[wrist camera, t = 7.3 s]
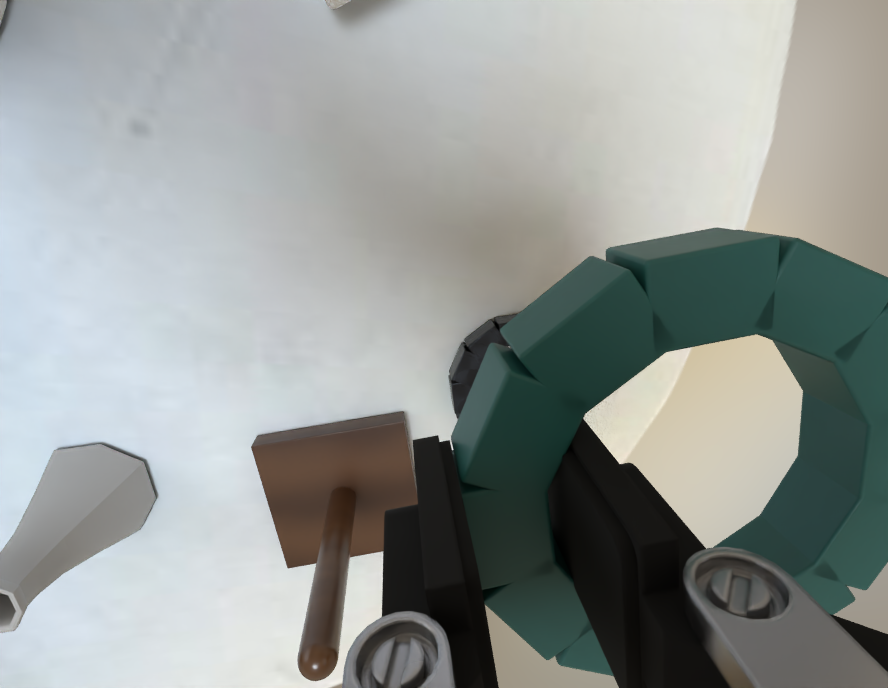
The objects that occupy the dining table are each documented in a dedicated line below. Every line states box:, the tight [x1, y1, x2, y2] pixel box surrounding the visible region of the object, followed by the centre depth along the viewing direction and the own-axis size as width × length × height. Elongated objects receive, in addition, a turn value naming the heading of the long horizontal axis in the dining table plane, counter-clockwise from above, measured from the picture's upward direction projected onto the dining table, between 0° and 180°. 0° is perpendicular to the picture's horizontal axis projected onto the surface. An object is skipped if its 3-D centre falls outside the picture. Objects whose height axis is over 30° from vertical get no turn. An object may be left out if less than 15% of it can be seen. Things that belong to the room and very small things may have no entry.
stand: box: [251, 412, 418, 681], centre depth 28 cm, size 10×10×14 cm
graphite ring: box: [449, 314, 518, 419], centre depth 33 cm, size 9×9×2 cm
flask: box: [0, 444, 156, 633], centre depth 29 cm, size 7×7×10 cm
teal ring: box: [451, 228, 888, 676], centre depth 10 cm, size 9×9×2 cm
